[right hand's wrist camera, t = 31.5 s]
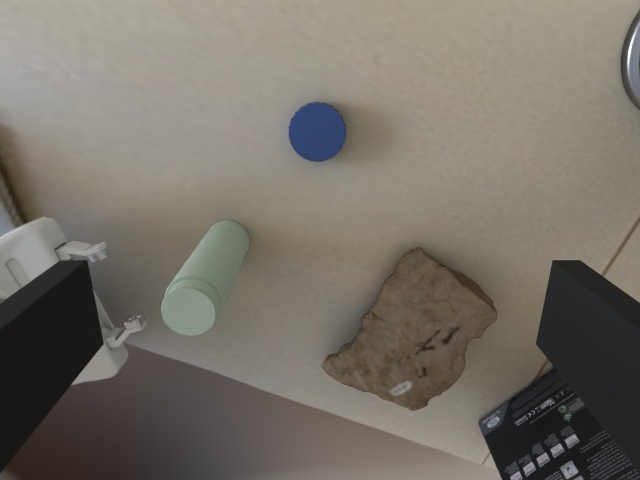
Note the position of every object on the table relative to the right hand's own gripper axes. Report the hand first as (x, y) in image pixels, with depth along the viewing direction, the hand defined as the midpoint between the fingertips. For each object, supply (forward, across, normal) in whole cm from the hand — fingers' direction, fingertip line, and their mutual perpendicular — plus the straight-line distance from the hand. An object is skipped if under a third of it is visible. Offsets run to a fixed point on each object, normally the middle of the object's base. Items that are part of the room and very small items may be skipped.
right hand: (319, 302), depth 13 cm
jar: (+41, +12, +13) cm, 44 cm away
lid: (+39, 0, 0) cm, 39 cm away
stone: (+41, -12, +25) cm, 49 cm away
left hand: (+34, +22, +16) cm, 44 cm away
